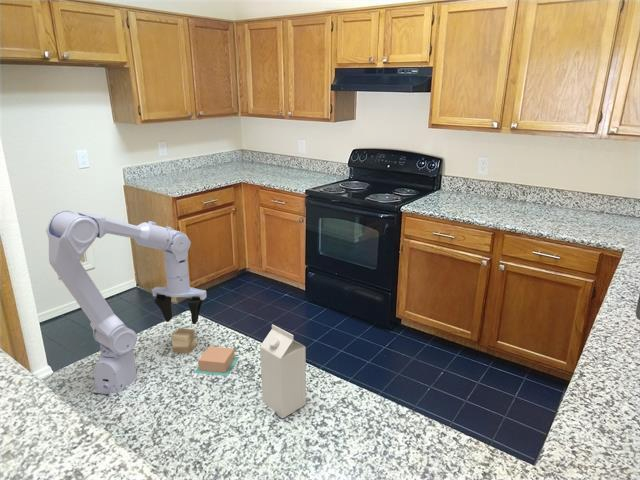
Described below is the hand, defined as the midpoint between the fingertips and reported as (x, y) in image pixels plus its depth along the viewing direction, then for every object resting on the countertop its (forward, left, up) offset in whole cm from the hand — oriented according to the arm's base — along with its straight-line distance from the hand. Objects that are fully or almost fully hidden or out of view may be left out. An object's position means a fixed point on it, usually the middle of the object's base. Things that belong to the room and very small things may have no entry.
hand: (182, 321), depth 123 cm
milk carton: (-18, -33, -10) cm, 39 cm away
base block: (-6, -12, -8) cm, 16 cm away
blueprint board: (-6, -12, -9) cm, 16 cm away
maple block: (0, 0, -9) cm, 9 cm away
